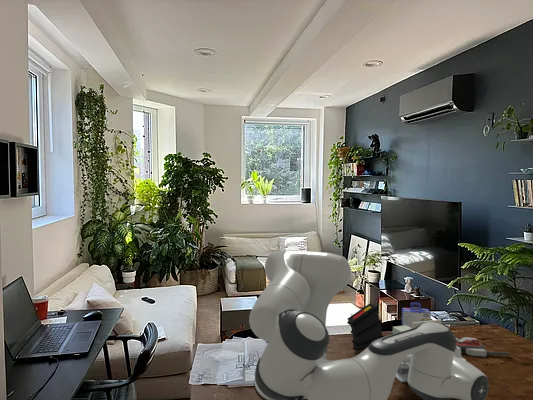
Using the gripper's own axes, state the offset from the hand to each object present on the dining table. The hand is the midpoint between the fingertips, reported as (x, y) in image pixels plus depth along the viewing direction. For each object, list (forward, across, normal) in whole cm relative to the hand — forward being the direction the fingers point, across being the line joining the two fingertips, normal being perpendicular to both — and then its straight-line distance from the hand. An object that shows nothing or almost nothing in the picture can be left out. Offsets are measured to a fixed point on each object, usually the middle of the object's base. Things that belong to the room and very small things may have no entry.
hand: (404, 343), depth 121 cm
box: (0, 0, -8) cm, 9 cm away
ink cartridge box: (+18, +18, -9) cm, 27 cm away
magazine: (+20, -2, -9) cm, 22 cm away
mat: (0, 0, -9) cm, 9 cm away
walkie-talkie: (+6, +33, -9) cm, 35 cm away
